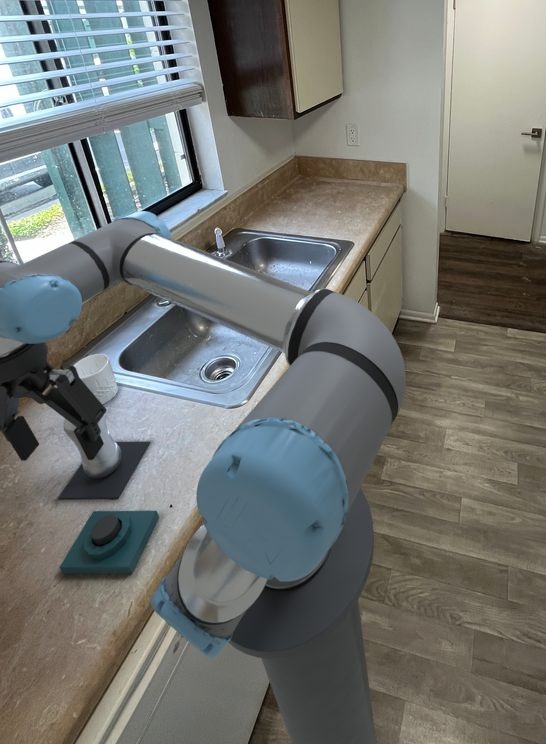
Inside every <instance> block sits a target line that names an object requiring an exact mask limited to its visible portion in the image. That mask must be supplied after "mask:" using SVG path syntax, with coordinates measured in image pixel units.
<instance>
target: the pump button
mask: <svg viewBox="0 0 546 744" xmlns="http://www.w3.org/2000/svg"><path fill="white" fill-rule="evenodd" d="M120 528H121V525H120V523H119V521H118V519H117V517H116V516H115V515H112V514H110V515H106V516H104V517H102V518H101V519H99V520H98V521H97V522H96V523H95V524H94V526H93V528H92V530H91V537H92V539H93V540H94V542H95V544H96V545H99V546H103V545H106V544H108V543H110V542H111V541H112V540H114V539H115V538H116V536H117V535H118V533H119V531H120Z"/></svg>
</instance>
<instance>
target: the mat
mask: <svg viewBox="0 0 546 744" xmlns="http://www.w3.org/2000/svg"><path fill="white" fill-rule="evenodd" d="M115 442H116V443H117V445H118V446H119V447H120V449H121V453H122V459H121V462H120V464H119V466H118V467H117V468H116V469H115V470H114V471H113V472H112V473H110V474H109V475H107V476H105V477H102V478H92V477H89V476H88V475H87V474H86V473H85V471H84V469H83V464H82V463H81V464H80V465H79V467H78V468H77V469H76V471H75V472H74V473H73V475H72V477H71V478H70V479H69V481H68V482H67V484H66V486H65V487H64V488H63V490H62V491H61V492H60V494H59V495H58V497H57V499H58V500H96V499H97V500H102V499H103V500H104V499H105V500H111V499H115V500H117V499H119V498H120V497H121V495H122V493H123V491H124V489H125V488H126V486H127V484H128V483H129V481H130V479H131V477H132V475H133V474H134V472H135V470H136V468H137V467H138V465H139V463H141V460H142V458H143V457H144V455H145V453H146V451H147V449H148V448H149V446H150V444H151V441H115Z"/></svg>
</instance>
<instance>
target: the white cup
mask: <svg viewBox="0 0 546 744" xmlns="http://www.w3.org/2000/svg"><path fill="white" fill-rule="evenodd" d="M73 366H74V367H75V368H76V370H77V373H78V375H79V378H80V379H81V380H82V381H83V382H84V384H85V385H86V386H87V387H88V388H89V389H90V391H91V392H92V393H93V394H94V395H95V397H96V398H97V399H98V400H99V401H100V403H101V404H102V405H104V404H107V403H108V402H110V401H111V400H113V399H114V397H116V395H117V393H118V391H119V389H118V387H119V386H118V384H117V379H116V376H115V373H114V369H113V367H112V364H111V361H110V358H109V356H108V355H107V354H105V353H94V354H90V355H88V356H85V357H83V358H81V359H80V360H78V361H77V362H76V363H74V365H73Z"/></svg>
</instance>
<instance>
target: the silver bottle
mask: <svg viewBox="0 0 546 744" xmlns="http://www.w3.org/2000/svg"><path fill="white" fill-rule="evenodd" d="M82 419H83V418H82ZM106 421H107V420H106V416H105V414H104V416H103V417H102V418H101V420H100V421H99V422H98V425H99V427H100V430H101V433H100V436H101V438H102V440H103V442H104V445H103V446H102V447H101V449H100V450H99V452H98V453H97V455H96V456H95V458H94V459H93V460H88V459H87V457H86V455H85V453H84V451H83V449H82V447H81V445H80V443H79V441H78V439H77V437H76V435H75V433H74V430H75V429H76V426H74V425H73V424H72V423H70V422H69V421H68V420H67V419H65V418H64V421H63V431H64V432H65V434H66V435H67V436H68V437H69V439H70V440H71V441H72V442H73V444H74V445H75V447H76V448H77V450H78V452H79V455H80V459H81V464H83V469H84V471H85V473H86V474H87V475H88V476H89V477H92V478H102V477H105V476H107V475H109V474H110V473H112V472H113V471H114V470H115V469H116V468H117V467H118V466H119V464H120V462H121V459H122V453H121V449H120V447H119V446H118V445H117V443H116V442H117V441H115V440H114V438H113V436H112V435H111V433H110V432H109V428H108V426H107V422H106Z"/></svg>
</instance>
